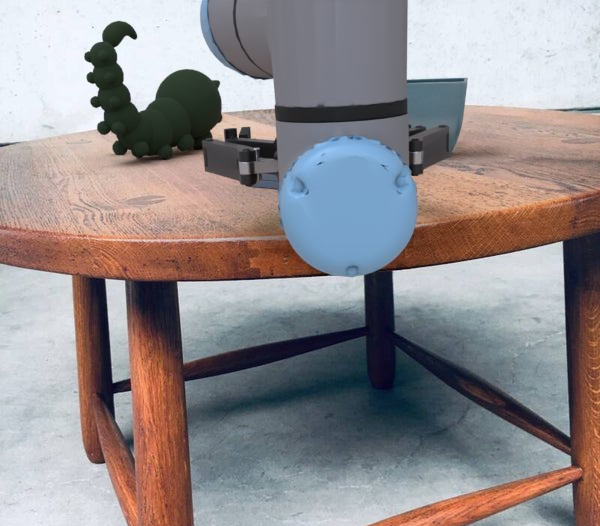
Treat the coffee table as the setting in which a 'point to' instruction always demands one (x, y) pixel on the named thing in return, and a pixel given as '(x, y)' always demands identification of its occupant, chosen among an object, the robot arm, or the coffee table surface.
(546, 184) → the coffee table surface
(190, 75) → the toy figurine
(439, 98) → the flower pot
